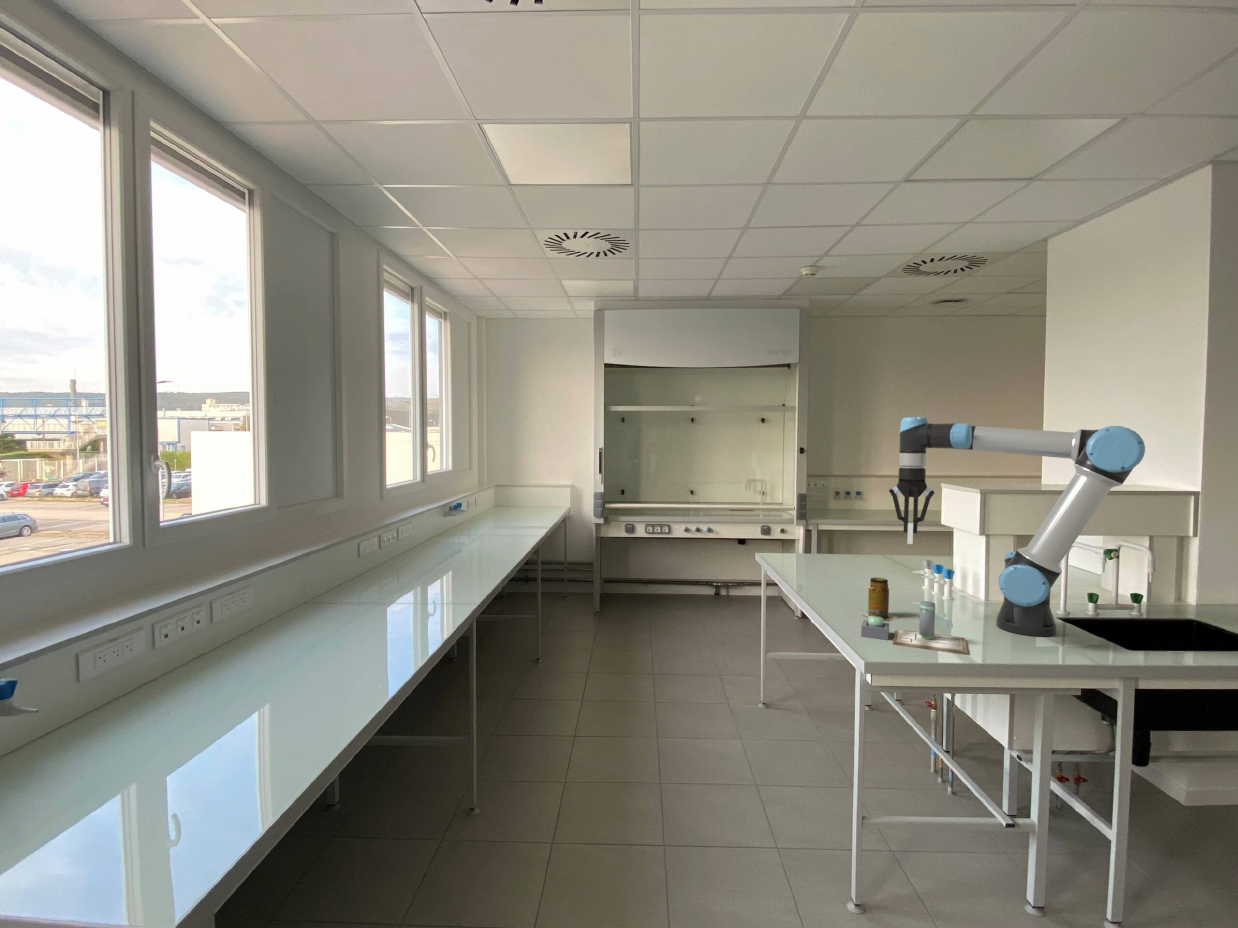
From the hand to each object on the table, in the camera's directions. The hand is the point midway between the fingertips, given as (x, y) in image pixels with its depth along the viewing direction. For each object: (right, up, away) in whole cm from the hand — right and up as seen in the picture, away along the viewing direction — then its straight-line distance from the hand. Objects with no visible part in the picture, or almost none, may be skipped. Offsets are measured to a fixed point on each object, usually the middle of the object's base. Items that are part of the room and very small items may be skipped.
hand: (910, 543), depth 197 cm
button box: (-16, -25, -14) cm, 33 cm away
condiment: (-7, -24, +6) cm, 26 cm away
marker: (-4, -24, -19) cm, 31 cm away
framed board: (-4, -25, -20) cm, 32 cm away
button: (-16, -23, -14) cm, 31 cm away
